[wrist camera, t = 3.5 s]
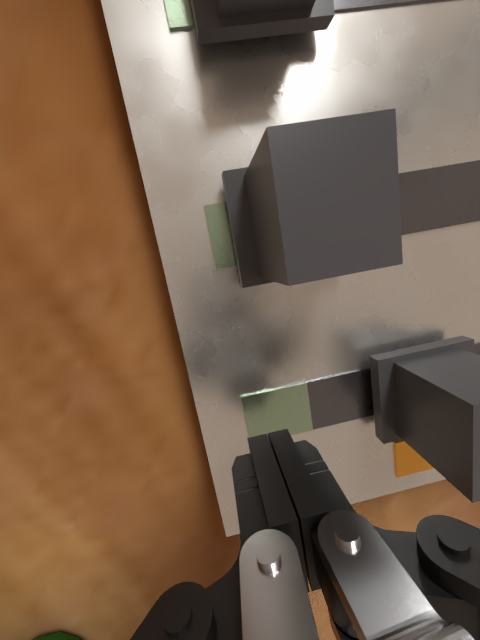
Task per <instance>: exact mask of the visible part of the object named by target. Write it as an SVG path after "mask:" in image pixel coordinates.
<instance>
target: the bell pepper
mask: <svg viewBox="0 0 480 640" xmlns="http://www.w3.org/2000/svg"><path fill="white" fill-rule="evenodd" d="M33 640H81V639H80V638H78V637H75V636H72V635H69V634H65V633H62V632H57V633H53V634H49V635H46V636H42V637H38V638H34V639H33Z"/></svg>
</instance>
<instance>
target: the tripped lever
mask: <svg viewBox="0 0 480 640" xmlns="http://www.w3.org/2000/svg"><path fill="white" fill-rule="evenodd" d="M369 357H370V370H371V383H372V395H373V408H374V421H375V434H376V437H377V438H378V439H379V440H380V441H381V442H382V443H383V444H386V443H390V442H394V441H398V440H403V441H405V442H406V443H407V444H408V445H409V446H410V447H411V448H412V449H413V450H415V451H416V452H417V453H418V454H419V455H420V456H421V457H422V458H423V459H425V460H426V461H427V462H428V463H429V464H430V465H431V466H432V467H433V468H435V469H436V470H437V471H438V472H439V473H440V474H441V475H442V476H443V477H445V478H446V479H447V480H448V481H449V482H450V483H451V484H452V485H453V486H455V487H456V488H457V489H458V490H459V491H460V492H461V493H462V494H463V495H465V496H466V497H467V498H468V499H469V500H470V501H471V502H472V503H473V502H477V501H480V355H478V354H475V353H474V339H472V338H469V337H465V336H458V337H453V338H449V339H444V340H440V341H435V342H430V343H426V344H421V345H417V346H412V347H408V348H403V349H399V350H394V351H390V352H385V353H380V354H376V355H371V356H369Z"/></svg>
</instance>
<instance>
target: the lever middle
mask: <svg viewBox="0 0 480 640" xmlns="http://www.w3.org/2000/svg"><path fill="white" fill-rule="evenodd" d="M222 182H223V188H224V193H225V199H226V205H227V210H228V216H229V222H230V227H231V233H232V239H233V244H234V250H235V256H236V262H237V267H238V273H239V279H240V284H241V287H242V288H246V287H251V286H256V285H261V284H267V283H272V282H277V283H280V284H283V285H287V286H291V285H297V284H302V283H307V282H312V281H317V280H322V279H328V278H333V277H338V276H343V275H348V274H353V273H359V272H364V271H369V270H374V269H379V268H384V267H390V266H395V265H400V264H403V257H402V235H401V214H400V193H399V172H398V151H397V129H396V108H395V109H388V110H381V111H374V112H367V113H360V114H353V115H346V116H339V117H332V118H325V119H319V120H312V121H305V122H298V123H291V124H284V125H277V126H270V127H266V130H265V132H264V134H263V136H262V138H261V140H260V143H259V145H258V147H257V149H256V151H255V153H254V155H253V158H252V160H251V162H250V164H249V166H248V167H245V168H239V169H232V170H226V171H222Z"/></svg>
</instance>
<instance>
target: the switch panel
mask: <svg viewBox="0 0 480 640" xmlns="http://www.w3.org/2000/svg"><path fill="white" fill-rule="evenodd" d="M101 4H102V8H103V12H104V16H105V21H106V25H107V29H108V33H109V38H110V42H111V46H112V51H113V55H114V59H115V63H116V68H117V72H118V76H119V80H120V85H121V89H122V93H123V98H124V102H125V106H126V110H127V115H128V119H129V123H130V127H131V132H132V136H133V140H134V145H135V149H136V153H137V157H138V162H139V166H140V170H141V175H142V179H143V183H144V187H145V192H146V196H147V200H148V204H149V209H150V213H151V217H152V222H153V226H154V230H155V234H156V239H157V243H158V247H159V251H160V256H161V260H162V264H163V269H164V273H165V277H166V281H167V286H168V290H169V294H170V299H171V303H172V307H173V311H174V316H175V320H176V324H177V328H178V333H179V337H180V341H181V346H182V350H183V354H184V358H185V363H186V367H187V371H188V375H189V380H190V384H191V388H192V393H193V397H194V401H195V405H196V410H197V414H198V418H199V422H200V427H201V431H202V435H203V440H204V444H205V448H206V452H207V457H208V461H209V465H210V470H211V474H212V478H213V482H214V487H215V491H216V495H217V499H218V504H219V508H220V512H221V517H222V521H223V525H224V529H225V534H226V537H229V536H233V535H237V534H240V529H239V522H238V514H237V507H236V499H235V491H234V483H233V476H232V466H233V463H234V460H235V458H236V456H240V455H245V454H249V453H250V451H249V446H248V440H247V438H250V437H254V436H258V435H263V434H267V436H268V433H271V432H275V431H279V430H283V429H288V431H289V433H290V435H291V437H292V439H293V441H294V442H298V441H302V440H306V441H308V442H309V443H310V444H312V445H313V446H315V447H316V448H317V450H318V451H319V453H320V455H321V456H322V458H323V461H325V463H326V465H327V466H328V468H329V471H331V473H332V475H333V476H334V478H335V480H336V481H337V483H338V485H339V486H340V488H341V490H342V491H343V493H344V495H345V496H346V498H347V499H348V501H349V503H350V504H354V503H358V502H362V501H365V500H369V499H373V498H377V497H380V496H384V495H388V494H392V493H396V492H399V491H403V490H407V489H411V488H414V487H418V486H422V485H426V484H430V483H433V482H437V481H441V480H445V479H446V478H445V477H443V476H442V475H441V474H440V473H439V472H438V471H437V470H436V469H435V468H433V467H432V466H431V465H430V464H429V463H428V462H427V461H426V460H425V459H423V458H422V457H421V456H420V455H419V454H418V453H417V452H416V451H415V450H413V449H412V448H411V447H410V446H409V445H408V444H407V443H406V442H405V441H403V440H398V441H394V442H390V443H386V444H383V443H382V442H381V441H380V440H379V439H378V438H377V437H376V434H375V421H374V408H373V395H372V383H371V370H370V357H369V356H371V355H376V354H380V353H385V352H390V351H394V350H399V349H403V348H408V347H412V346H417V345H421V344H426V343H430V342H435V341H440V340H444V339H449V338H453V337H458V336H465V337H469V338H472V339H474V353H475V354H478V355H480V0H334V12H335V15H334V17H333V19H332V21H331V23H330V25H329V26H328V28H327V30H320V31H312V32H303V33H295V34H286V35H278V36H269V37H261V38H252V39H244V40H235V41H227V42H218V43H210V44H201V45H198V40H197V34H196V29H195V23H194V17H193V12H192V6H191V0H101ZM395 108H396V129H397V151H398V172H399V193H400V214H401V235H402V257H403V264H400V265H395V266H390V267H384V268H379V269H374V270H369V271H364V272H359V273H353V274H348V275H343V276H338V277H333V278H328V279H322V280H317V281H312V282H307V283H302V284H297V285H291V286H287V285H283V284H280V283H277V282H272V283H267V284H261V285H256V286H251V287H246V288H242V287H241V284H240V279H239V273H238V267H237V262H236V256H235V250H234V244H233V239H232V233H231V227H230V222H229V216H228V210H227V205H226V199H225V193H224V188H223V182H222V171H226V170H232V169H239V168H245V167H248V166H249V164H250V162H251V160H252V158H253V155H254V153H255V151H256V149H257V147H258V145H259V143H260V140H261V138H262V136H263V134H264V132H265V130H266V127H270V126H277V125H284V124H291V123H298V122H305V121H312V120H319V119H325V118H332V117H339V116H346V115H353V114H360V113H367V112H374V111H381V110H388V109H395Z"/></svg>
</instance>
